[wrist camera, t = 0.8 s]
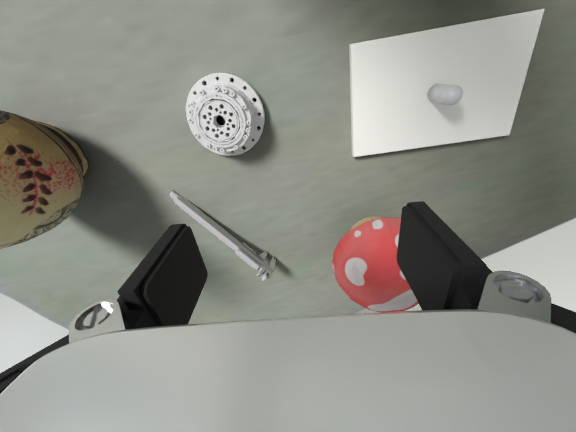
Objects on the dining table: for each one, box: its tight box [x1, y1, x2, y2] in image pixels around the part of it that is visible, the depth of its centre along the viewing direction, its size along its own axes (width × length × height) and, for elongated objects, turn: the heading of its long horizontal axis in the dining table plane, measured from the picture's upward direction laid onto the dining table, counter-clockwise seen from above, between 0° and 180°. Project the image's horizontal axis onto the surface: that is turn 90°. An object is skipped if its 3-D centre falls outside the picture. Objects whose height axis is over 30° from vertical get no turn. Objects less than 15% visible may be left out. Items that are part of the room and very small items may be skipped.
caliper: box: [169, 190, 276, 280], centre depth 40 cm, size 20×1×6 cm, turn 51°
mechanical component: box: [186, 73, 265, 156], centre depth 31 cm, size 10×4×10 cm
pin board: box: [349, 9, 544, 157], centre depth 29 cm, size 13×20×6 cm, turn 99°
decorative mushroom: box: [332, 216, 419, 312], centre depth 35 cm, size 13×13×15 cm
